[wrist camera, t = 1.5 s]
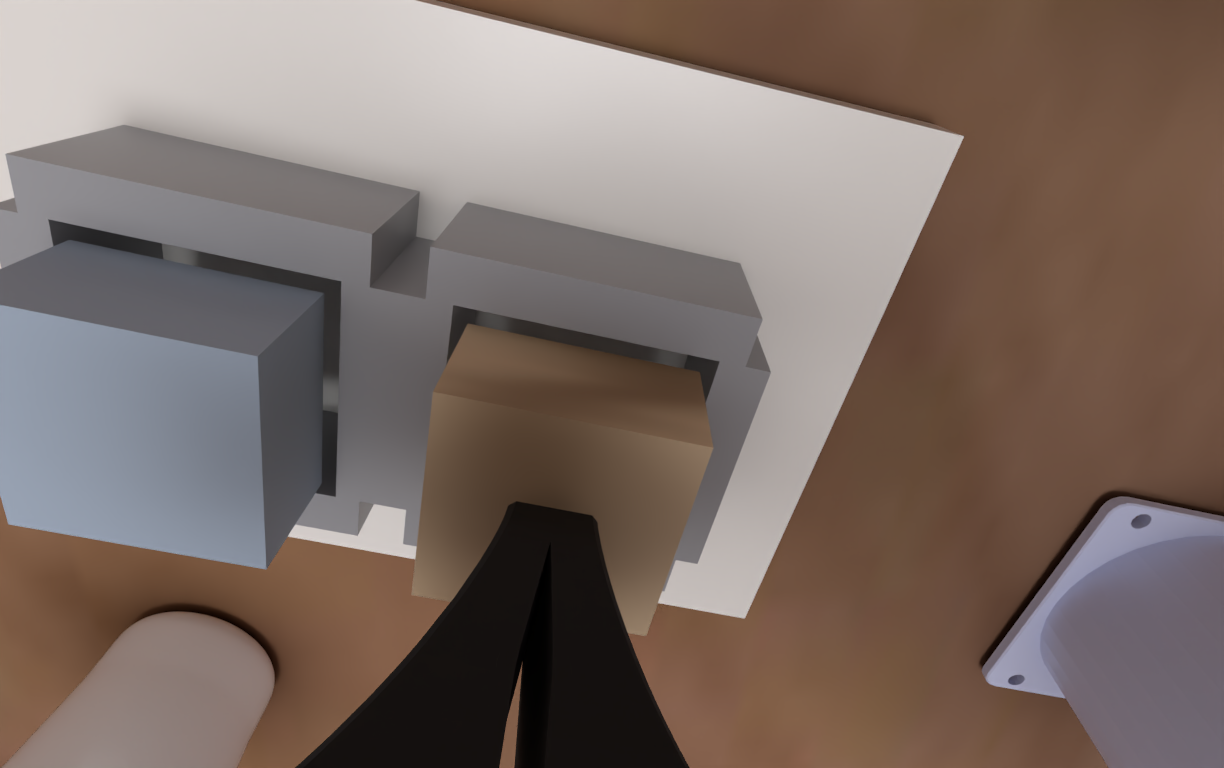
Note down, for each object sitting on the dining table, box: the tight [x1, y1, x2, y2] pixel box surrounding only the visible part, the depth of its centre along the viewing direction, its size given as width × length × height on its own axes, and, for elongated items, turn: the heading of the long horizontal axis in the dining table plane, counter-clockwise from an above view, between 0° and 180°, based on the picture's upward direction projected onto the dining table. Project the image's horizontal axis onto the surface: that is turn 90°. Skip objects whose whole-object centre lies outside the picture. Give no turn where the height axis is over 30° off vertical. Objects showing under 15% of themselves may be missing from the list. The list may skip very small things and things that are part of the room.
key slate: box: [0, 240, 324, 569], centre depth 12 cm, size 4×4×2 cm
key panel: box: [0, 0, 964, 618], centre depth 15 cm, size 20×14×4 cm
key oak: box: [412, 323, 713, 636], centre depth 13 cm, size 4×4×2 cm
